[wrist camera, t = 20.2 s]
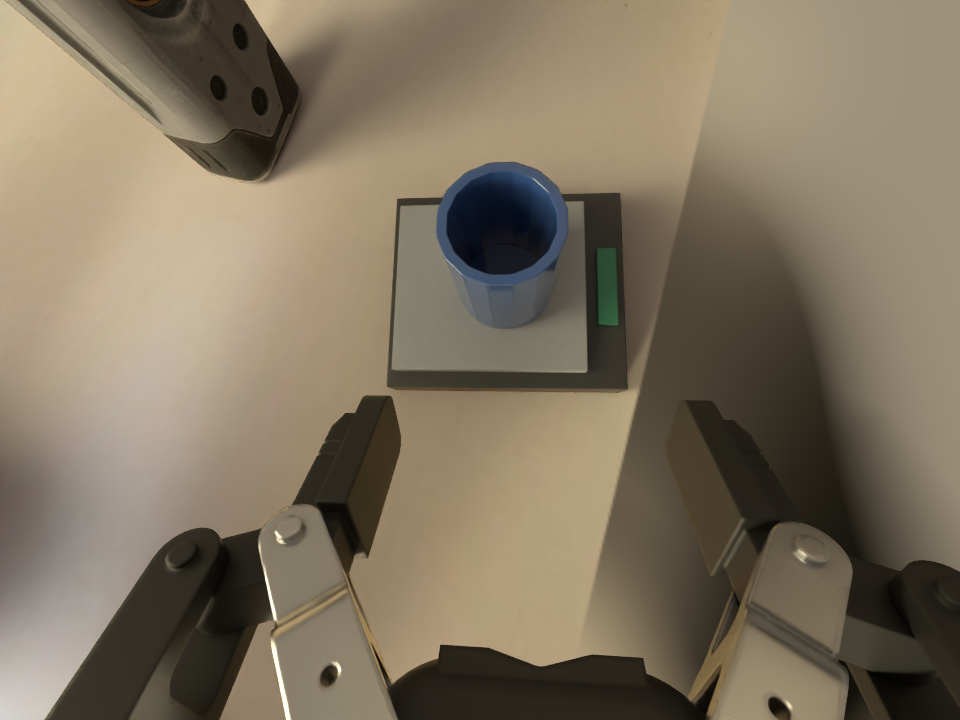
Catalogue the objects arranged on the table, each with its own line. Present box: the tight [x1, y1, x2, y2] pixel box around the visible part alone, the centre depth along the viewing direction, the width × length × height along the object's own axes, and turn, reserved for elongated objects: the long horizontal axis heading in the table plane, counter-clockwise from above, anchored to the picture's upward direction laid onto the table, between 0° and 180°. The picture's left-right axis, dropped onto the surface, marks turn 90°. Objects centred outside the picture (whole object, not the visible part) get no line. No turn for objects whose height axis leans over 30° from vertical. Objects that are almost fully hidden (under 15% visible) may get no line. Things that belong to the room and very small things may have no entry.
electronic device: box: [5, 0, 301, 184], centre depth 23 cm, size 9×6×20 cm, turn 163°
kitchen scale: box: [387, 193, 628, 393], centre depth 27 cm, size 15×13×3 cm
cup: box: [436, 162, 568, 329], centre depth 22 cm, size 6×6×8 cm
